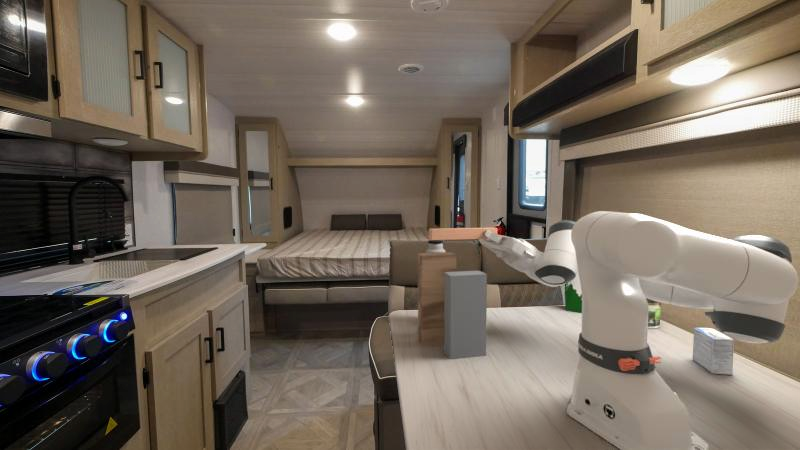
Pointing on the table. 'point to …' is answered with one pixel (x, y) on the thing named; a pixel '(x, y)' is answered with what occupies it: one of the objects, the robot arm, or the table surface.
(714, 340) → the medicine box
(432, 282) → the walnut post
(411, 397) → the table surface
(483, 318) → the gray block
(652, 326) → the coffee can
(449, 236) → the rail
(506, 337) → the table surface
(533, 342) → the table surface
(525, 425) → the table surface
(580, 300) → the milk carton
